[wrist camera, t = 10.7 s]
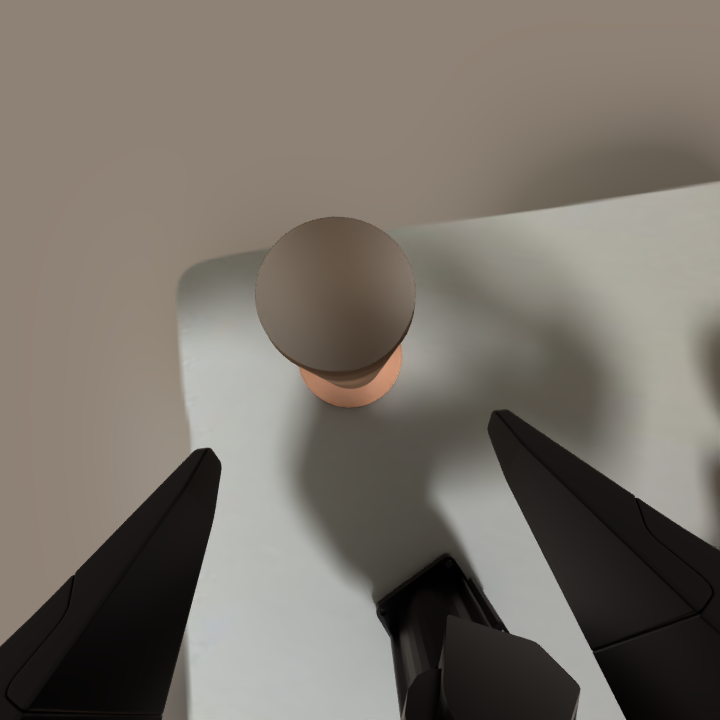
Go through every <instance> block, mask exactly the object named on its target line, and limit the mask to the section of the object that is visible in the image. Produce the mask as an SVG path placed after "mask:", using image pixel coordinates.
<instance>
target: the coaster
mask: <svg viewBox="0 0 720 720" xmlns="http://www.w3.org/2000/svg"><path fill="white" fill-rule="evenodd" d="M401 363H402V349H401V344H400V345H399V346H398V348H397V349H396V350H395V352H394V353H393V354H392V356H391V357H390V358H389V360H388V361H387V363H386V364H385V365H384V367H383V368H382V369H381V371H380V372H379V373H378V375H377V376H376V377H375V378H374V379H373V380H372V381H371V382H370V383H369V384H367V385H365V386H363V387H360V388H355V389H346V388H341V387H338V386H336V385H334V384H332V383H330V382H328V381H326V380H324V379H322V378H320V377H318V376H317V375H315V374H313V373H311V372H309V371H307V370H305V369H303V368H301V367H299V369H300V372H301V375H302V378H303V379H304V381H305V383H306V385H307V386H308V387H309V389H310V390H311V391H312V392H313V393H314V394H315V395H316V396H318V397H319V398H320V399H322V400H324V401H325V402H327V403H330V404H332V405H336V406H339V407H360V406H364V405H367V404H370V403H372V402H374V401H376V400H378V399H379V398H381V397H382V396H383V395H384V394H385V393H386V392H387V391H388V390H389V389H390V388H391V387H392V385H393V384H394V382H395V381H396V379H397V377H398V374H399V372H400V368H401Z"/></svg>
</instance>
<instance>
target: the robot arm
mask: <svg viewBox="0 0 720 720" xmlns="http://www.w3.org/2000/svg"><path fill="white" fill-rule="evenodd" d="M488 434H489V437H490V439H491V442H492V445H493V447H494V450H495V453H496V455H497V458H498V460H499V463H500V466H501V468H502V471H503V474H504V476H505V478H506V481H507V483H508V485H509V487H510V489H511V491H512V493H513V495H514V497H515V499H516V501H517V503H518V505H519V507H520V509H521V511H522V513H523V515H524V517H525V519H526V521H527V523H528V525H529V527H530V529H531V531H532V533H533V535H534V537H535V539H536V541H537V543H538V545H539V547H540V549H541V551H542V553H543V555H544V557H545V559H546V561H547V563H548V565H549V567H550V569H551V570H552V572H553V574H554V576H555V578H556V580H557V582H558V584H559V586H560V588H561V590H562V592H563V594H564V596H565V598H566V600H567V602H568V604H569V606H570V608H571V610H572V612H573V614H574V616H575V618H576V620H577V622H578V624H579V626H580V628H581V630H582V632H583V634H584V636H585V638H586V640H587V642H588V644H589V646H590V648H591V650H593V654H594V656H595V658H596V660H597V662H598V664H599V666H600V668H601V670H602V672H603V674H604V676H605V678H606V680H607V682H608V684H609V686H610V688H611V690H612V692H613V694H614V696H615V698H616V700H617V702H618V704H619V706H620V708H621V710H622V712H623V714H624V716H625V718H626V720H720V550H718V549H716V548H715V547H713V546H711V545H710V544H708V543H707V542H705V541H703V540H702V539H700V538H699V537H697V536H695V535H694V534H692V533H690V532H689V531H687V530H686V529H684V528H682V527H681V526H679V525H678V524H676V523H675V522H673V521H672V520H670V519H669V518H667V517H666V516H664V515H663V514H661V513H660V512H658V511H657V510H655V509H654V508H652V507H651V506H649V505H648V504H646V503H645V502H643V501H642V500H640V499H639V498H635V496H634V495H633V494H631V493H630V492H628V491H627V490H625V489H624V488H622V487H621V486H619V485H618V484H616V483H615V482H614V481H612V480H611V479H609V478H608V477H606V476H605V475H603V474H602V473H600V472H599V471H597V470H596V469H594V468H593V467H591V466H590V465H588V464H587V463H585V462H584V461H583V460H581V459H580V458H578V457H577V456H575V455H574V454H572V453H571V452H569V451H568V450H566V449H565V448H563V447H562V446H560V445H559V444H557V443H556V442H554V441H553V440H552V439H550V438H549V437H547V436H546V435H544V434H543V433H541V432H540V431H538V430H537V429H535V428H534V427H532V426H531V425H529V424H528V423H526V422H525V421H523V420H522V419H521V418H519V417H518V416H516V415H515V414H513V413H512V412H510V411H509V410H506V409H502V410H495V411H493V412H492V414H491V418H490V421H489V424H488ZM220 476H221V462H220V460H219V459H218V457H217V456H216V454H215V453H214V452H213V450H212V449H211V448H201V449H197V450H195V451H194V452H192V453H191V454H190V456H189V457H188V458H187V459H186V460H185V461H184V462H183V463H182V464H181V465H180V466H179V467H178V468H177V469H176V470H175V471H174V472H173V473H172V474H171V475H170V476H169V477H168V478H167V479H166V480H165V481H164V482H163V484H161V485H160V486H159V487H158V488H157V489H156V490H155V492H153V493H152V494H151V495H150V497H149V498H148V499H147V500H146V501H145V502H144V503H143V504H142V505H141V506H140V507H139V508H138V509H137V510H136V511H135V512H134V513H133V514H132V515H131V516H130V517H129V518H128V519H127V520H126V521H125V522H124V523H123V524H122V525H121V526H120V527H119V528H118V529H117V530H116V531H115V532H114V533H113V534H112V536H110V537H109V539H108V540H107V541H106V542H105V543H104V544H103V545H102V546H101V547H100V548H99V549H98V550H97V551H96V552H95V553H94V554H93V555H92V556H91V557H90V558H89V559H88V560H87V561H86V562H85V563H84V564H83V565H82V566H81V567H80V568H79V569H78V570H77V571H76V573H75V575H73V576H71V577H70V578H69V579H68V580H67V581H66V583H64V585H63V586H61V588H60V589H59V590H58V591H57V592H56V593H55V594H54V595H53V596H52V597H51V598H50V599H49V600H48V601H47V602H46V603H45V604H44V605H43V606H42V607H41V608H40V609H39V610H38V611H37V612H36V613H35V614H34V615H33V616H32V617H31V618H30V619H29V620H28V621H27V622H25V623H24V624H23V625H22V626H21V627H20V628H19V629H18V630H17V631H16V632H15V633H14V634H13V635H12V636H11V637H10V638H9V639H8V640H7V641H6V642H5V643H3V644H2V645H1V646H0V720H162V714H163V712H164V708H165V704H166V700H167V696H168V693H169V688H170V685H171V681H172V677H173V673H174V670H175V666H176V662H177V658H178V654H179V651H180V647H181V643H182V639H183V635H184V631H185V628H186V624H187V620H188V616H189V612H190V608H191V605H192V601H193V597H194V593H195V589H196V585H197V581H198V578H199V574H200V570H201V566H202V562H203V558H204V555H205V551H206V547H207V543H208V539H209V535H210V532H211V528H212V524H213V519H214V514H215V509H216V502H217V495H218V489H219V482H220ZM448 560H450V561H451V563H450V564H449V565H446V564H445V563H446V561H448ZM382 608H385V609H386V611H385V612H382V611H381V609H382ZM376 612H377V616H378V618H379V620H380V621H381V623H382V625H383V626H384V628H385V630H386V632H387V633H388V635H389V637H390V639H391V647H392V655H393V663H394V671H395V679H396V687H397V694H398V702H399V710H400V718H401V720H576V715H577V708H578V702H579V695H580V687H579V685H578V684H577V682H576V681H575V680H574V679H573V678H572V677H571V676H570V675H569V674H568V673H567V672H566V671H565V670H564V669H563V668H562V667H561V666H560V665H559V664H558V663H557V662H556V661H555V660H554V659H553V658H552V657H551V656H550V655H549V654H548V653H547V652H546V651H545V650H544V649H543V648H542V647H541V646H540V645H539V644H537V643H536V642H534V641H531V640H528V639H525V638H522V637H519V636H516V635H512V634H510V633H509V631H508V630H507V628H506V626H505V625H504V623H503V622H502V620H501V619H500V617H499V615H498V614H497V612H496V611H495V609H494V608H493V606H492V605H491V603H490V601H489V600H488V598H487V597H486V595H485V594H484V592H483V591H482V589H481V587H480V586H479V584H478V583H477V581H476V580H475V579H474V578H471V577H470V578H469V579H468V580H467V578H466V576H465V575H464V573H463V572H462V570H461V569H460V567H459V566H458V564H457V562H456V561H455V559H454V558H453V556H452V555H450V554H448V553H446V554H443V555H442V556H440V557H439V558H438V559H436V560H435V561H434V562H432V563H431V564H430V565H428V566H427V567H425V568H424V569H423V570H421V571H420V572H419V573H417V574H416V575H414V576H413V577H412V578H410V579H409V580H408V581H406V582H405V583H404V584H402V585H401V586H399V587H398V588H397V589H395V590H394V591H393V592H391V593H390V594H388V595H387V596H386V597H384V598H383V599H382V600H380V601H379V602H378V603H377V606H376Z"/></svg>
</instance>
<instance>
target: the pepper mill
mask: <svg viewBox="0 0 720 720" xmlns="http://www.w3.org/2000/svg"><path fill="white" fill-rule="evenodd" d="M415 297H416V292H415V280H414V275H413V272H412V268H411V266H410V264H409V261H408V259H407V257H406V256H405V254H404V252H403V251H402V249H401V248H400V247H399V246H398V244H397V243H396V242H395V241H394V240H393V239H392V238H391V237H390V236H389V235H387V234H386V233H385V232H383V231H382V230H380V229H379V228H377V227H375V226H373V225H371V224H369V223H366V222H364V221H361V220H356V219H352V218H345V217H327V218H320V219H316V220H312V221H309V222H306V223H304V224H302V225H300V226H298V227H296V228H294V229H292V230H291V231H289V232H288V233H286V234H285V235H284V236H283V237H282V238H280V239H279V240H278V241H277V243H275V245H274V246H273V247H272V248H271V249H270V251H269V252H268V254H267V255H266V257H265V259H264V261H263V263H262V265H261V267H260V270H259V273H258V276H257V281H256V289H255V300H256V308H257V313H258V316H259V319H260V322H261V324H262V326H263V328H264V330H265V332H266V334H267V335H268V337H269V339H270V340H271V342H272V343H273V344H274V346H275V347H276V348H277V349H278V351H279V352H280V353H281V354H282V355H283V356H285V357H286V358H287V359H288V360H290V361H291V362H293V363H294V364H296V365H298V366H299V367H301V368H303V369H305V370H307V371H309V372H311V373H313V374H315V375H317V376H318V377H320V378H322V379H324V380H326V381H328V382H330V383H332V384H334V385H336V386H338V387H341V388H346V389H355V388H360V387H363V386H365V385H367V384H369V383H370V382H371V381H372V380H373V379H374V378H375V377H376V376H377V375H378V373H379V372H380V371H381V369H382V368H383V367H384V365H385V364H386V363H387V361H388V360H389V358H390V357H391V356H392V354H393V353H394V352H395V350H396V349H397V348H398V346H399V345H400V343H401V342H402V341H403V339H404V337H405V336H406V334H407V332H408V330H409V327H410V325H411V322H412V318H413V314H414V307H415Z"/></svg>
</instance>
